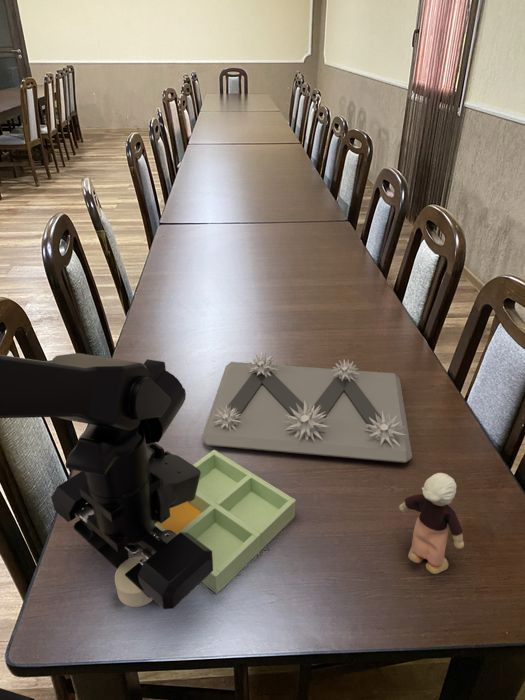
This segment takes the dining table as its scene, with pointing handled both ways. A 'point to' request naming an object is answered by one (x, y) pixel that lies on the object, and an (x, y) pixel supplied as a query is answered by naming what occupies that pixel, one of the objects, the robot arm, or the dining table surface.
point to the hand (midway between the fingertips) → (137, 581)
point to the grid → (230, 516)
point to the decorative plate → (310, 411)
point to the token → (129, 585)
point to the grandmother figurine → (434, 522)
